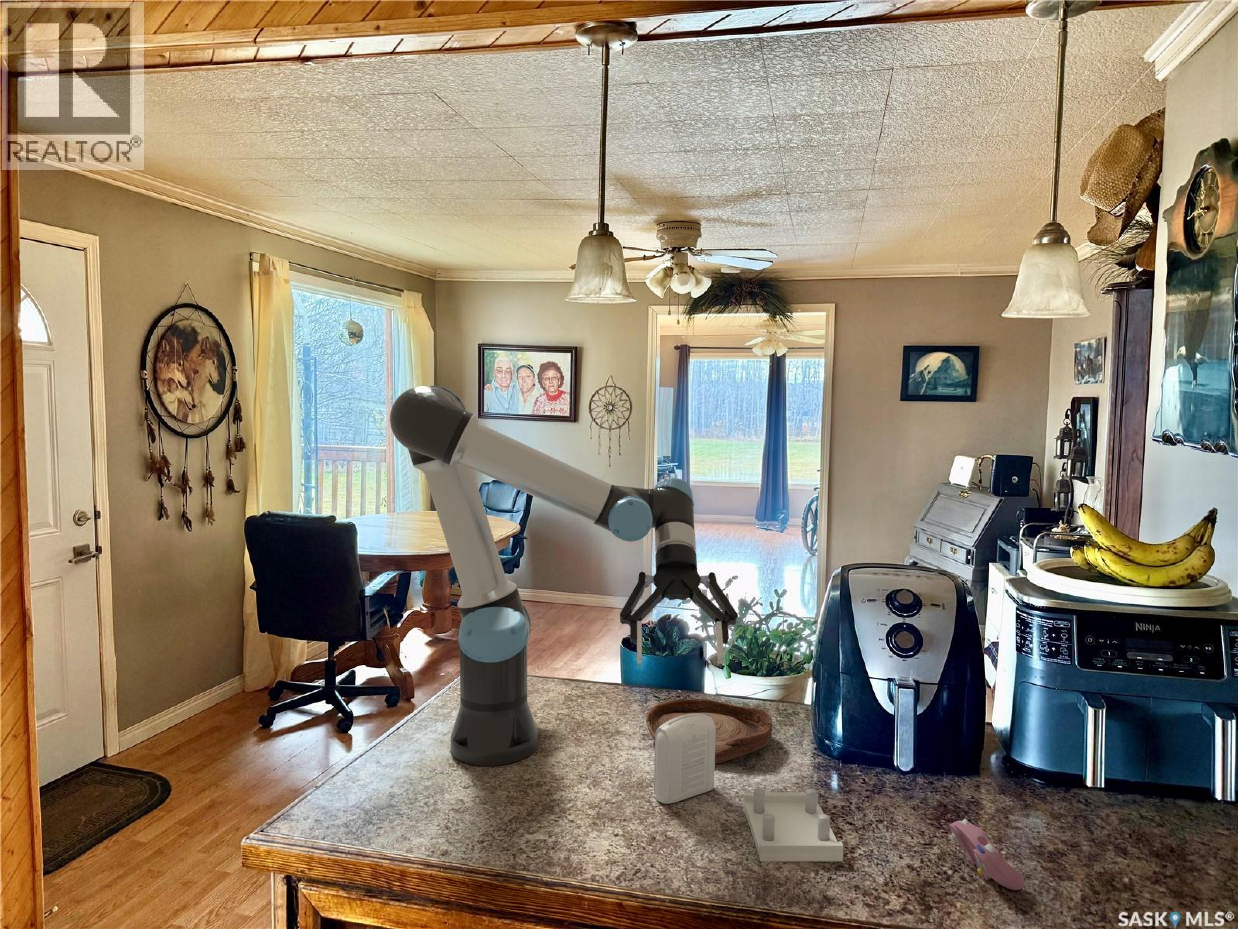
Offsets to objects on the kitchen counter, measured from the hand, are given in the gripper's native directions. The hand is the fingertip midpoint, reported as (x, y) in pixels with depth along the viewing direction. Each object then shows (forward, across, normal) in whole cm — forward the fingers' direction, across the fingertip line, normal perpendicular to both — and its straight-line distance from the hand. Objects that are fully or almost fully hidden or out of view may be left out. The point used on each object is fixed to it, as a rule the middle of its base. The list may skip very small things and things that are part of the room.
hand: (680, 660), depth 131 cm
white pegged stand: (+27, -14, +2) cm, 31 cm away
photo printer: (+20, 0, -6) cm, 21 cm away
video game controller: (+34, -38, +8) cm, 51 cm away
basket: (+7, -6, -19) cm, 21 cm away
